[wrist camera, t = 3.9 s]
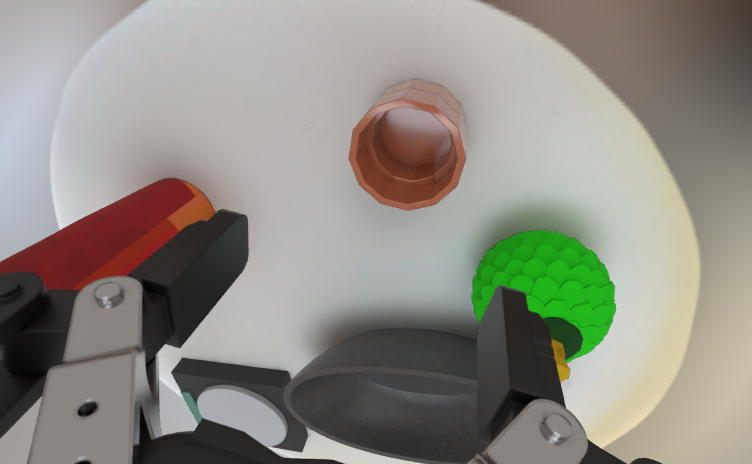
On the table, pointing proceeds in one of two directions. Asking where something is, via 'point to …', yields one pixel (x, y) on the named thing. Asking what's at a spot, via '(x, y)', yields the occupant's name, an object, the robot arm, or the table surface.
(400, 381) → the bowl
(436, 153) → the small bowl
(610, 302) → the ornament
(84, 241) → the coffee cup
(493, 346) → the robot arm
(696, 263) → the table surface
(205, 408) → the scale
